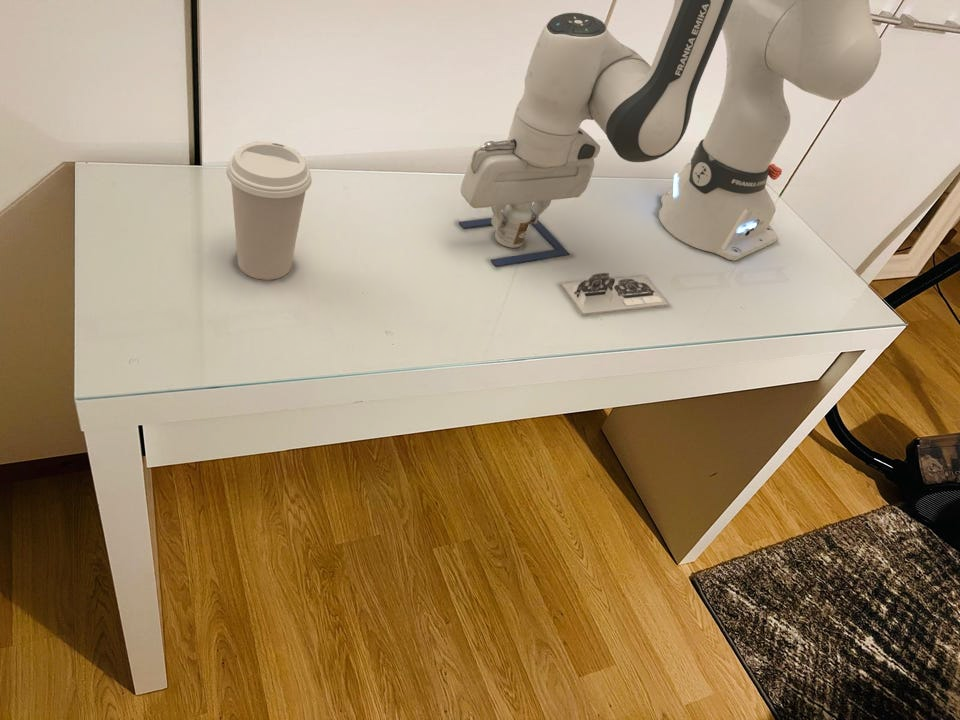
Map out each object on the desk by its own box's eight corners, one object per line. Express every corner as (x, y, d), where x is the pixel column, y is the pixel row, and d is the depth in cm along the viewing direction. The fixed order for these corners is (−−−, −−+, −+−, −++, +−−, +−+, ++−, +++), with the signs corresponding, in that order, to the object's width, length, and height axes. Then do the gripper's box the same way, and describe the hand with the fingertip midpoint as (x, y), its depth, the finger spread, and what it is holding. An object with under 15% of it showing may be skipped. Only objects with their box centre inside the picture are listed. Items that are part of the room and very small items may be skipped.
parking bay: (530, 214, 121) (531, 212, 121) (569, 255, 115) (570, 253, 115) (458, 223, 114) (459, 221, 114) (495, 267, 108) (496, 265, 108)
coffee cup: (317, 262, 99) (329, 160, 89) (273, 298, 92) (280, 191, 82) (256, 233, 101) (261, 129, 91) (208, 265, 94) (208, 157, 84)
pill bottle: (520, 252, 112) (535, 207, 107) (491, 243, 112) (505, 198, 107) (524, 237, 116) (539, 193, 111) (496, 228, 116) (510, 184, 111)
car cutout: (582, 316, 105) (593, 290, 102) (560, 285, 109) (569, 260, 106) (667, 306, 111) (679, 282, 108) (643, 278, 115) (654, 254, 112)
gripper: (489, 155, 96) (464, 244, 105) (610, 147, 106) (578, 229, 116) (465, 130, 99) (443, 218, 109) (584, 124, 110) (555, 205, 119)
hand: (513, 223), depth 112 cm, fingers closed on pill bottle, 4 cm apart
